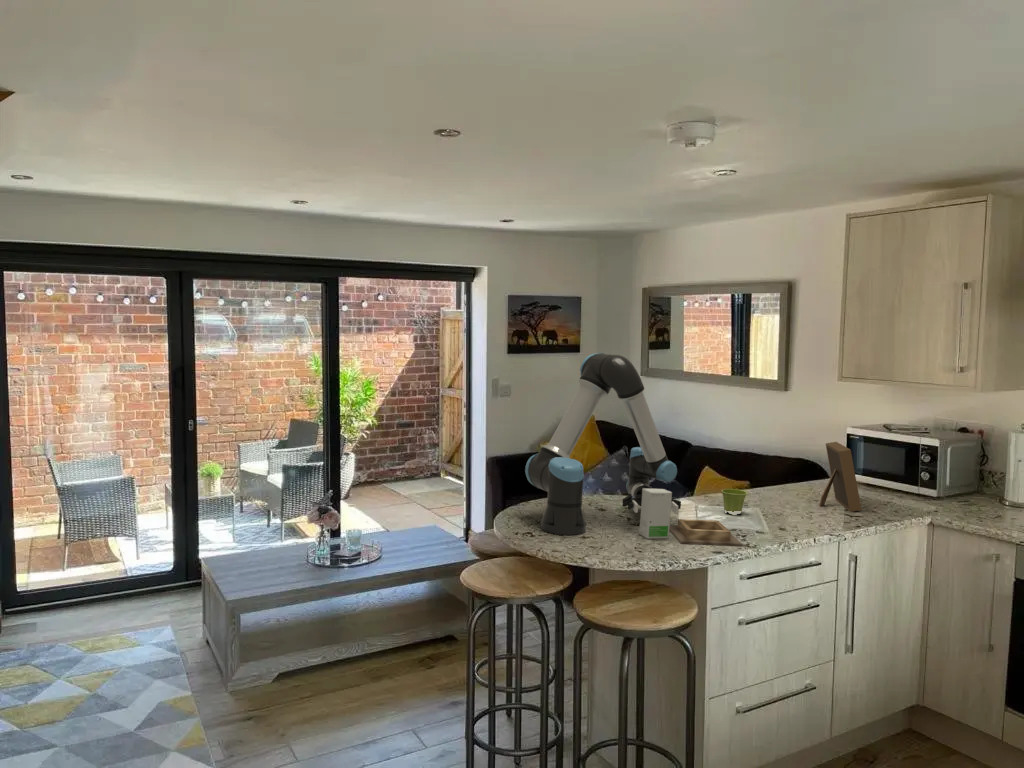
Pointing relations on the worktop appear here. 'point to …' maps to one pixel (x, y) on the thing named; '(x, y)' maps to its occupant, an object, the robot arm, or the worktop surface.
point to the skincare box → (655, 513)
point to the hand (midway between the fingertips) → (656, 509)
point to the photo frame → (842, 477)
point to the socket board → (703, 533)
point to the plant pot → (733, 499)
